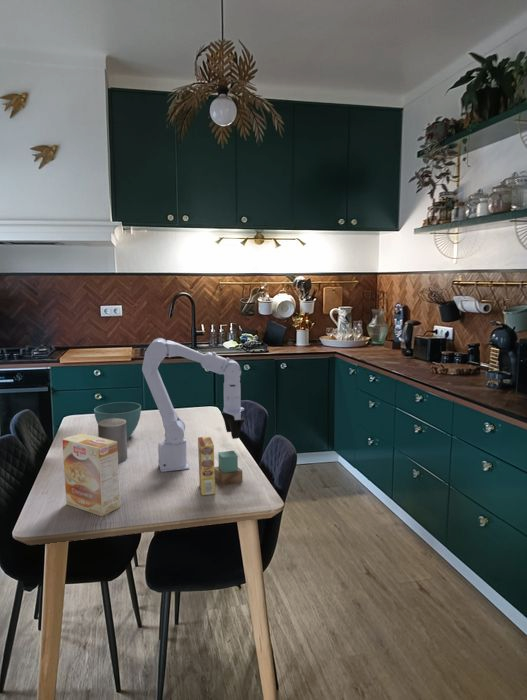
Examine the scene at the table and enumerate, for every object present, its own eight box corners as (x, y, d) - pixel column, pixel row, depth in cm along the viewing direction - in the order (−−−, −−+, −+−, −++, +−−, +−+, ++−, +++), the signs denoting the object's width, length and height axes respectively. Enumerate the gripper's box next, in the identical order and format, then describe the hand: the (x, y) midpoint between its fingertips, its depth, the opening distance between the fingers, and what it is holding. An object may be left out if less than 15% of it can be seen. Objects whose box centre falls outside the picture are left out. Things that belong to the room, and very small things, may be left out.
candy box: (215, 494, 153) (214, 445, 151) (201, 496, 152) (200, 446, 150) (211, 483, 161) (211, 436, 159) (198, 484, 161) (197, 437, 158)
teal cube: (222, 473, 160) (222, 457, 159) (218, 467, 165) (218, 452, 164) (237, 471, 161) (237, 455, 161) (233, 465, 166) (233, 450, 165)
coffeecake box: (65, 504, 147) (61, 438, 144) (85, 495, 153) (82, 432, 150) (101, 517, 139) (97, 447, 136) (121, 507, 145) (118, 440, 142)
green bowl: (117, 447, 196) (116, 415, 194) (85, 439, 205) (84, 409, 203) (151, 434, 211) (150, 405, 209) (120, 427, 220) (119, 399, 219)
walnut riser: (222, 486, 159) (222, 474, 159) (213, 479, 165) (213, 467, 165) (242, 482, 162) (242, 470, 162) (233, 475, 169) (233, 463, 168)
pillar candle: (94, 459, 182) (92, 418, 180) (118, 452, 189) (116, 413, 187) (108, 466, 176) (106, 424, 174) (133, 459, 183) (131, 418, 181)
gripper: (249, 400, 169) (249, 440, 171) (237, 390, 182) (238, 427, 184) (228, 401, 166) (229, 442, 168) (218, 392, 180) (219, 429, 182)
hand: (232, 434), depth 176 cm, fingers open, 7 cm apart
